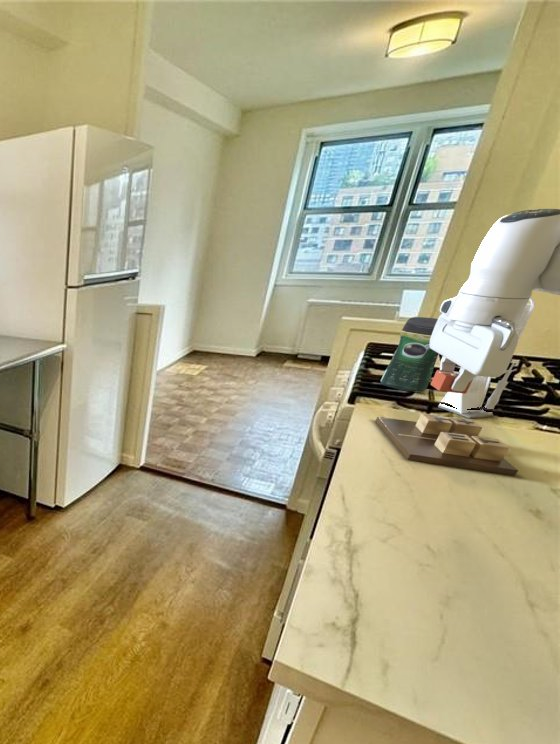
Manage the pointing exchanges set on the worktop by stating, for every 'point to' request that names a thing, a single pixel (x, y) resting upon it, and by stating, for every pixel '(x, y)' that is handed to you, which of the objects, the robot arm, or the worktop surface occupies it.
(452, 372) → the red toy block
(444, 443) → the tile
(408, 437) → the board
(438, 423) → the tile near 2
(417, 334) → the coffee jar
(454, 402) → the skyscraper
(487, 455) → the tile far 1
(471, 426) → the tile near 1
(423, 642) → the worktop surface
